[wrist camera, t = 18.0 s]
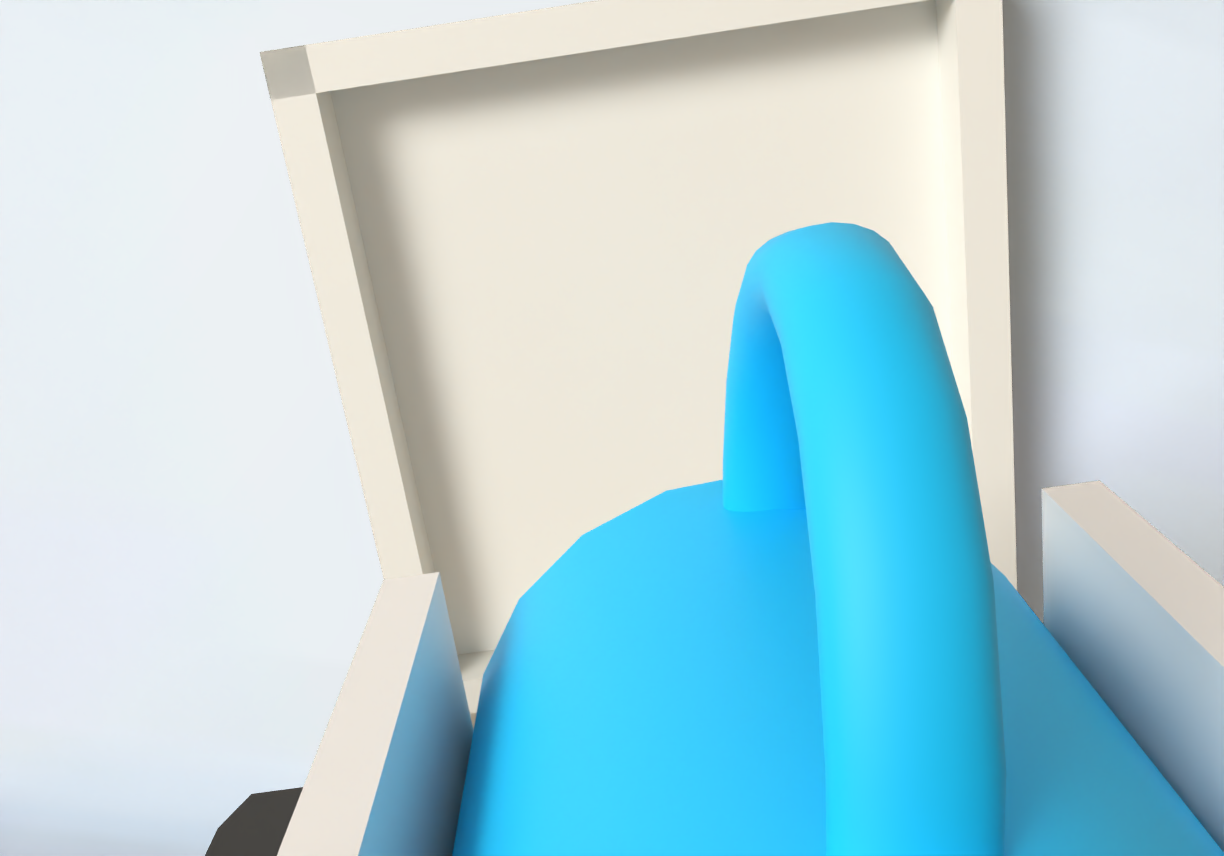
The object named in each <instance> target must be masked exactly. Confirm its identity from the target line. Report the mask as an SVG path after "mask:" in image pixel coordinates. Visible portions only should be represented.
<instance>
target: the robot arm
mask: <svg viewBox="0 0 1224 856" xmlns="http://www.w3.org/2000/svg"><path fill="white" fill-rule="evenodd" d="M1042 536H1043V598H1044V626H1045V627H1046V628H1047V630H1048V631H1049V632H1050V633H1051V635H1052V636H1053V637H1054V638H1055V640H1056V641H1057V642H1058V644H1059V645H1060V646H1061V647H1062V649H1063V650H1064V651H1065V652H1066V654H1067V655H1068V656H1069V657H1070V659H1071V660H1072V661H1073V662H1074V664H1075V665H1076V666H1077V668H1078V669H1079V670H1080V671H1081V673H1082V674H1083V675H1084V676H1085V678H1086V679H1087V680H1088V681H1089V683H1090V684H1091V685H1092V687H1093V688H1094V689H1095V690H1096V692H1097V693H1098V694H1099V695H1100V697H1101V698H1102V699H1103V700H1104V702H1105V703H1106V704H1107V706H1108V707H1109V708H1110V709H1111V711H1112V712H1113V713H1114V714H1115V716H1116V717H1117V718H1118V719H1119V721H1120V722H1121V723H1122V724H1123V726H1124V727H1125V728H1126V730H1127V731H1128V732H1129V733H1130V735H1131V736H1132V737H1133V738H1134V740H1135V741H1136V742H1137V743H1138V745H1139V746H1140V747H1141V749H1142V750H1143V751H1144V752H1145V754H1146V755H1147V756H1148V757H1149V759H1150V760H1151V761H1152V762H1153V764H1154V765H1155V766H1156V767H1157V769H1158V770H1159V771H1160V773H1161V774H1162V775H1163V776H1164V778H1165V779H1166V780H1167V781H1168V783H1169V784H1170V785H1171V786H1172V788H1173V789H1174V790H1175V792H1176V793H1177V794H1178V795H1179V797H1180V798H1181V799H1182V800H1183V802H1184V803H1185V804H1186V805H1187V807H1188V808H1189V809H1190V810H1191V812H1192V813H1193V814H1194V816H1195V817H1196V818H1197V819H1198V821H1199V822H1200V823H1201V824H1202V826H1203V827H1204V828H1205V829H1206V831H1207V832H1208V833H1209V835H1210V836H1211V837H1212V838H1213V840H1214V841H1215V842H1216V843H1217V845H1218V846H1219V847H1220V848H1221V850H1222V851H1223V852H1224V587H1223V586H1222V585H1221V584H1220V583H1219V582H1218V581H1216V580H1215V579H1214V578H1213V577H1212V576H1211V575H1209V574H1208V573H1207V572H1206V571H1205V570H1204V569H1202V568H1201V567H1200V566H1199V565H1198V564H1197V563H1195V562H1194V561H1193V560H1192V559H1191V558H1190V557H1188V556H1187V555H1186V554H1185V553H1184V552H1183V551H1181V550H1180V549H1179V548H1178V547H1177V546H1176V545H1174V544H1173V543H1172V542H1171V541H1170V540H1168V539H1167V538H1166V537H1165V536H1164V535H1163V534H1161V533H1160V532H1159V531H1158V530H1157V529H1156V528H1154V527H1153V526H1152V525H1151V524H1150V523H1149V522H1147V521H1146V520H1145V519H1144V518H1143V517H1142V516H1140V515H1139V514H1138V513H1137V512H1136V511H1135V510H1133V509H1132V508H1131V507H1130V506H1129V505H1128V504H1126V503H1125V502H1124V501H1123V500H1122V499H1121V498H1119V497H1118V496H1117V495H1116V494H1115V493H1114V492H1112V491H1111V490H1110V489H1109V488H1108V487H1107V486H1105V485H1104V484H1103V483H1102V482H1101V481H1100V480H1099V481H1092V482H1085V483H1077V484H1070V485H1063V486H1056V487H1048V488H1042ZM473 731H474V730H473V725H472V720H471V716H470V711H469V707H468V702H467V697H466V693H465V688H464V684H463V679H462V674H461V670H460V665H459V660H458V656H457V651H456V647H455V642H454V637H453V633H452V628H451V624H450V619H449V614H448V610H447V605H446V601H445V596H444V591H443V587H442V582H441V578H440V573H439V572H435V573H428V574H421V575H414V576H407V577H399V578H392V579H385V580H383V583H382V585H381V588H380V590H379V593H378V595H377V598H376V601H375V603H374V606H373V608H372V611H371V614H370V616H369V619H368V621H367V624H366V626H365V629H364V632H363V634H362V637H361V639H360V642H359V645H358V647H357V650H356V652H355V655H354V657H353V660H352V663H351V665H350V668H349V670H348V673H347V676H346V678H345V681H344V683H343V686H342V688H341V691H340V694H339V696H338V699H337V701H336V704H335V707H334V709H333V712H332V714H331V717H330V719H329V722H328V725H327V727H326V730H325V732H324V735H323V738H322V740H321V743H320V745H319V748H318V750H317V753H316V756H315V758H314V761H313V763H312V766H311V769H310V771H309V774H308V776H307V779H306V781H305V784H304V787H301V788H293V789H286V790H278V791H271V792H264V793H256V794H251V795H250V796H249V797H248V798H247V799H246V800H245V801H244V802H243V803H242V804H241V805H240V806H239V807H238V808H237V809H236V810H235V811H234V812H233V814H232V815H231V816H230V817H229V818H228V819H227V820H226V821H225V822H224V823H223V824H222V825H221V826H220V827H219V828H218V829H217V831H216V834H215V836H214V838H213V840H212V842H211V844H210V846H209V848H208V850H207V852H206V855H205V856H452V854H453V848H454V842H455V836H456V830H457V825H458V819H459V813H460V807H461V801H462V795H463V790H464V784H465V778H466V772H467V766H468V760H469V754H470V749H471V743H472V737H473Z"/></svg>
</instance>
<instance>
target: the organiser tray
mask: <svg viewBox="0 0 1224 856" xmlns="http://www.w3.org/2000/svg"><path fill="white" fill-rule="evenodd" d="M260 56H261V60H262V64H263V69H264V73H265V77H266V81H267V86H268V90H269V94H270V98H271V103H272V107H273V111H274V115H275V120H276V124H277V128H278V132H279V137H280V141H281V145H282V149H283V154H284V158H285V162H286V166H287V170H288V175H289V179H290V183H291V187H292V192H293V196H294V200H295V204H296V209H297V213H298V217H299V221H300V226H301V230H302V234H303V238H304V243H305V247H306V251H307V255H308V259H309V264H310V268H311V272H312V276H313V281H314V285H315V289H316V293H317V298H318V302H319V306H320V310H321V315H322V319H323V323H324V327H325V332H326V336H327V340H328V344H329V349H330V353H331V357H332V361H333V365H334V370H335V374H336V378H337V382H338V387H339V391H340V395H341V399H342V404H343V408H344V412H345V416H346V421H347V425H348V429H349V433H350V438H351V442H352V446H353V450H354V455H355V459H356V463H357V467H358V471H359V476H360V480H361V484H362V488H363V493H364V497H365V501H366V505H367V510H368V514H369V518H370V522H371V527H372V531H373V535H374V539H375V544H376V548H377V552H378V556H379V561H380V565H381V569H382V573H383V577H384V580H385V579H392V578H399V577H407V576H414V575H421V574H428V573H435V572H439V573H440V578H441V582H442V587H443V591H444V596H445V601H446V605H447V610H448V614H449V619H450V624H451V628H452V633H453V637H454V642H455V647H456V651H457V656H458V660H459V665H460V670H461V674H462V679H463V684H464V688H465V693H466V697H467V702H468V707H469V711H470V716H471V720H472V725H473V730H474V725H475V719H476V713H477V708H478V702H479V696H480V690H481V684H482V678H483V674H484V672H485V669H486V667H487V665H488V663H489V661H490V659H491V657H492V655H493V653H494V651H495V649H496V646H497V644H498V642H499V640H500V638H501V636H502V634H503V632H504V630H505V628H506V625H507V623H508V621H509V619H510V617H511V615H512V613H513V611H514V609H515V607H516V604H517V602H518V600H519V599H520V598H521V597H522V596H523V595H524V594H525V593H526V592H527V590H528V589H529V588H530V587H531V586H532V585H533V584H534V583H535V582H536V581H537V580H538V579H539V578H540V577H541V576H542V575H543V574H544V573H545V572H546V571H547V570H548V569H549V568H550V567H551V566H552V565H553V564H554V563H555V562H556V561H557V560H558V559H559V558H560V557H561V556H562V555H563V554H564V553H565V552H566V551H567V550H568V549H569V548H570V547H571V546H572V545H573V544H574V543H575V542H576V541H577V540H578V539H579V538H580V537H581V536H582V535H583V534H585V533H587V532H589V531H591V530H593V529H595V528H596V527H598V526H600V525H602V524H604V523H606V522H608V521H610V520H612V519H613V518H615V517H617V516H619V515H621V514H623V513H625V512H627V511H629V510H630V509H632V508H634V507H636V506H638V505H640V504H642V503H644V502H646V501H648V500H649V499H651V498H653V497H655V496H657V495H659V494H661V493H663V492H665V491H667V490H672V489H677V488H682V487H687V486H692V485H697V484H703V483H708V482H713V481H718V480H723V447H724V424H725V401H726V380H727V371H728V362H729V353H730V344H731V335H732V326H733V318H734V311H735V305H736V302H737V298H738V295H739V291H740V288H741V284H742V281H743V278H744V274H745V271H746V267H747V264H748V263H749V261H750V259H751V258H752V256H753V255H754V253H755V251H756V250H758V249H759V248H760V247H761V246H762V245H764V244H765V243H766V242H767V241H768V240H770V239H772V238H774V237H777V236H779V235H781V234H783V233H786V232H788V231H792V230H796V229H800V228H803V227H807V226H812V225H818V224H824V223H830V222H837V223H850V224H856V225H859V226H862V227H865V228H868V229H870V230H873V231H875V232H876V233H878V234H879V235H880V236H882V237H883V238H884V239H886V240H887V241H889V242H890V244H891V245H892V247H893V248H894V250H895V251H896V253H897V254H898V256H899V257H900V259H901V260H902V261H903V263H904V264H905V266H906V267H907V269H908V270H909V272H910V273H911V275H912V276H913V278H914V279H915V280H916V282H917V283H918V285H919V286H920V288H921V289H922V291H923V292H924V294H925V295H926V297H927V298H928V300H929V301H930V303H931V304H932V306H933V309H934V312H935V315H936V318H937V322H938V325H939V328H940V331H941V335H942V338H943V341H944V344H945V348H946V351H947V354H948V357H949V361H950V364H951V367H952V370H953V374H954V377H955V380H956V384H957V387H958V390H959V393H960V397H961V400H962V403H963V406H964V410H965V413H966V416H967V421H968V427H969V433H970V439H971V445H972V451H973V458H974V464H975V470H976V476H977V482H978V488H979V494H980V501H981V507H982V513H983V519H984V525H985V531H986V537H987V543H988V550H989V556H990V562H991V563H992V564H993V565H994V566H995V567H996V568H997V569H998V570H999V571H1000V572H1001V573H1003V574H1004V575H1005V576H1006V578H1007V579H1008V580H1009V582H1010V583H1011V584H1012V585H1013V587H1014V588H1015V589H1016V590H1017V566H1016V527H1015V487H1014V447H1013V407H1012V368H1011V328H1010V288H1009V248H1008V209H1007V169H1006V129H1005V89H1004V50H1003V10H1002V0H597V1H590V2H584V3H577V4H571V5H564V6H558V7H551V8H545V9H538V10H531V11H525V12H518V13H512V14H505V15H499V16H492V17H486V18H479V19H473V20H466V21H460V22H453V23H447V24H440V25H434V26H427V27H421V28H414V29H408V30H401V31H395V32H388V33H382V34H375V35H368V36H362V37H355V38H349V39H342V40H336V41H329V42H323V43H316V44H310V45H303V46H297V47H290V48H284V49H277V50H271V51H264V52H260Z"/></svg>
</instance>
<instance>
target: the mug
mask: <svg viewBox="0 0 1224 856" xmlns="http://www.w3.org/2000/svg"><path fill="white" fill-rule="evenodd" d="M452 856H1224V852H1223V851H1222V850H1221V848H1220V847H1219V846H1218V845H1217V843H1216V842H1215V841H1214V840H1213V838H1212V837H1211V836H1210V835H1209V833H1208V832H1207V831H1206V829H1205V828H1204V827H1203V826H1202V824H1201V823H1200V822H1199V821H1198V819H1197V818H1196V817H1195V816H1194V814H1193V813H1192V812H1191V810H1190V809H1189V808H1188V807H1187V805H1186V804H1185V803H1184V802H1183V800H1182V799H1181V798H1180V797H1179V795H1178V794H1177V793H1176V792H1175V790H1174V789H1173V788H1172V786H1171V785H1170V784H1169V783H1168V781H1167V780H1166V779H1165V778H1164V776H1163V775H1162V774H1161V773H1160V771H1159V770H1158V769H1157V767H1156V766H1155V765H1154V764H1153V762H1152V761H1151V760H1150V759H1149V757H1148V756H1147V755H1146V754H1145V752H1144V751H1143V750H1142V749H1141V747H1140V746H1139V745H1138V743H1137V742H1136V741H1135V740H1134V738H1133V737H1132V736H1131V735H1130V733H1129V732H1128V731H1127V730H1126V728H1125V727H1124V726H1123V724H1122V723H1121V722H1120V721H1119V719H1118V718H1117V717H1116V716H1115V714H1114V713H1113V712H1112V711H1111V709H1110V708H1109V707H1108V706H1107V704H1106V703H1105V702H1104V700H1103V699H1102V698H1101V697H1100V695H1099V694H1098V693H1097V692H1096V690H1095V689H1094V688H1093V687H1092V685H1091V684H1090V683H1089V681H1088V680H1087V679H1086V678H1085V676H1084V675H1083V674H1082V673H1081V671H1080V670H1079V669H1078V668H1077V666H1076V665H1075V664H1074V662H1073V661H1072V660H1071V659H1070V657H1069V656H1068V655H1067V654H1066V652H1065V651H1064V650H1063V649H1062V647H1061V646H1060V645H1059V644H1058V642H1057V641H1056V640H1055V638H1054V637H1053V636H1052V635H1051V633H1050V632H1049V631H1048V630H1047V628H1046V627H1045V626H1044V625H1043V623H1042V622H1041V621H1040V619H1039V618H1038V617H1037V616H1036V614H1035V613H1034V612H1033V611H1032V609H1031V608H1030V607H1029V606H1028V604H1027V603H1026V602H1025V601H1024V599H1023V598H1022V597H1021V595H1020V594H1019V593H1018V592H1017V590H1016V589H1015V588H1014V587H1013V585H1012V584H1011V583H1010V582H1009V580H1008V579H1007V578H1006V576H1005V575H1004V574H1003V573H1001V572H1000V571H999V570H998V569H997V568H996V567H995V566H994V565H993V564H992V563H991V562H990V556H989V550H988V543H987V537H986V531H985V525H984V519H983V513H982V507H981V501H980V494H979V488H978V482H977V476H976V470H975V464H974V458H973V451H972V445H971V439H970V433H969V427H968V421H967V416H966V413H965V410H964V406H963V403H962V400H961V397H960V393H959V390H958V387H957V384H956V380H955V377H954V374H953V370H952V367H951V364H950V361H949V357H948V354H947V351H946V348H945V344H944V341H943V338H942V335H941V331H940V328H939V325H938V322H937V318H936V315H935V312H934V309H933V306H932V304H931V303H930V301H929V300H928V298H927V297H926V295H925V294H924V292H923V291H922V289H921V288H920V286H919V285H918V283H917V282H916V280H915V279H914V278H913V276H912V275H911V273H910V272H909V270H908V269H907V267H906V266H905V264H904V263H903V261H902V260H901V259H900V257H899V256H898V254H897V253H896V251H895V250H894V248H893V247H892V245H891V244H890V242H889V241H887V240H886V239H884V238H883V237H882V236H880V235H879V234H878V233H876V232H875V231H873V230H870V229H868V228H865V227H862V226H859V225H856V224H850V223H837V222H830V223H824V224H818V225H812V226H807V227H803V228H800V229H796V230H792V231H788V232H786V233H783V234H781V235H779V236H777V237H774V238H772V239H770V240H768V241H767V242H766V243H765V244H764V245H762V246H761V247H760V248H759V249H758V250H756V251H755V253H754V255H753V256H752V258H751V259H750V261H749V263H748V264H747V267H746V271H745V274H744V278H743V281H742V284H741V288H740V291H739V295H738V298H737V302H736V305H735V311H734V318H733V326H732V335H731V344H730V353H729V362H728V371H727V380H726V401H725V424H724V447H723V480H718V481H713V482H708V483H703V484H697V485H692V486H687V487H682V488H677V489H672V490H667V491H665V492H663V493H661V494H659V495H657V496H655V497H653V498H651V499H649V500H648V501H646V502H644V503H642V504H640V505H638V506H636V507H634V508H632V509H630V510H629V511H627V512H625V513H623V514H621V515H619V516H617V517H615V518H613V519H612V520H610V521H608V522H606V523H604V524H602V525H600V526H598V527H596V528H595V529H593V530H591V531H589V532H587V533H585V534H583V535H582V536H581V537H580V538H579V539H578V540H577V541H576V542H575V543H574V544H573V545H572V546H571V547H570V548H569V549H568V550H567V551H566V552H565V553H564V554H563V555H562V556H561V557H560V558H559V559H558V560H557V561H556V562H555V563H554V564H553V565H552V566H551V567H550V568H549V569H548V570H547V571H546V572H545V573H544V574H543V575H542V576H541V577H540V578H539V579H538V580H537V581H536V582H535V583H534V584H533V585H532V586H531V587H530V588H529V589H528V590H527V592H526V593H525V594H524V595H523V596H522V597H521V598H520V599H519V600H518V602H517V604H516V607H515V609H514V611H513V613H512V615H511V617H510V619H509V621H508V623H507V625H506V628H505V630H504V632H503V634H502V636H501V638H500V640H499V642H498V644H497V646H496V649H495V651H494V653H493V655H492V657H491V659H490V661H489V663H488V665H487V667H486V669H485V672H484V674H483V678H482V684H481V690H480V696H479V702H478V708H477V713H476V719H475V725H474V731H473V737H472V743H471V749H470V754H469V760H468V766H467V772H466V778H465V784H464V790H463V795H462V801H461V807H460V813H459V819H458V825H457V830H456V836H455V842H454V848H453V854H452Z"/></svg>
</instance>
